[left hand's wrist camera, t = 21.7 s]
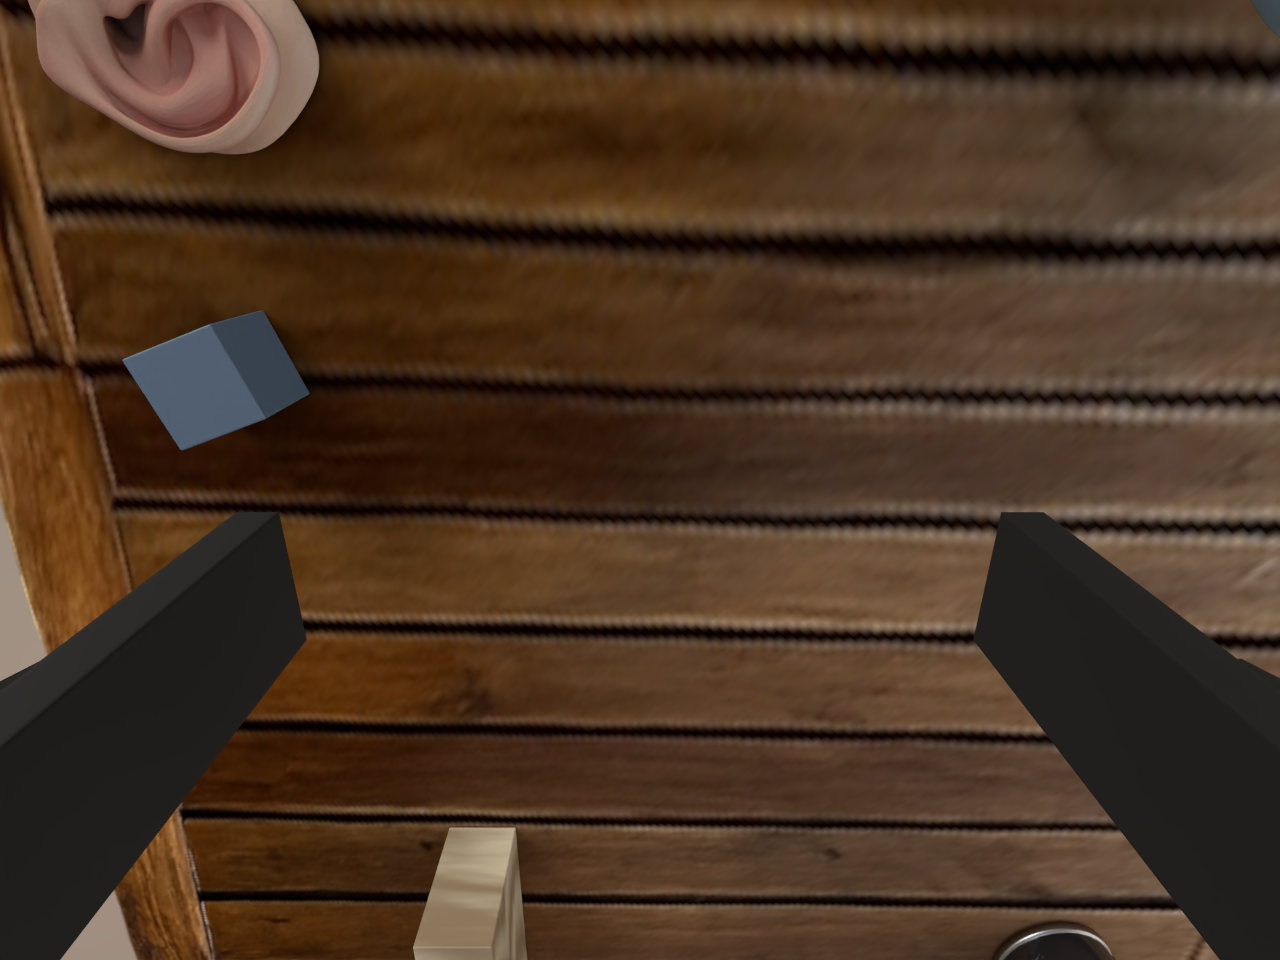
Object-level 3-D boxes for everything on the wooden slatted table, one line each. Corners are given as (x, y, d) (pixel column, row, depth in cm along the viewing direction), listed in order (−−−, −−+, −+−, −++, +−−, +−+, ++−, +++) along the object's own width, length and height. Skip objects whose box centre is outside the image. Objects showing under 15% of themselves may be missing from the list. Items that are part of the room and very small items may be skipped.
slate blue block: (263, 309, 37) (209, 324, 32) (310, 393, 39) (265, 419, 34) (185, 341, 38) (121, 359, 33) (234, 422, 39) (180, 451, 35)
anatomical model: (-128, -109, 27) (92, -287, 25) (-35, -71, 30) (162, -224, 29) (112, 213, 31) (314, 83, 29) (168, 212, 35) (351, 97, 33)
